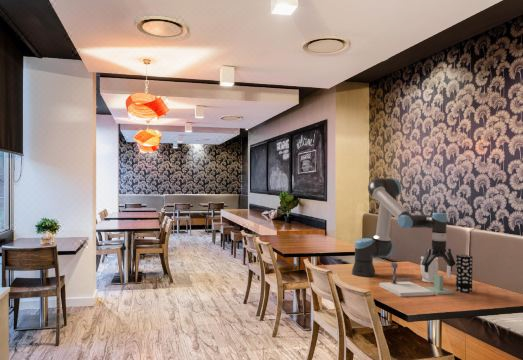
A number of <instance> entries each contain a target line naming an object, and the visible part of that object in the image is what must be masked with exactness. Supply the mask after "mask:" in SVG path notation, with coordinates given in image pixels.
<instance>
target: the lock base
mask: <svg viewBox="0 0 523 360" xmlns="http://www.w3.org/2000/svg"><path fill="white" fill-rule="evenodd" d="M378 287H380V288H382V289H384V290H386V291H388V292H390V293H392V294H394V295H396V296H398V297H423V296H424V297H425V296H434V295H435V293H434V291H431V290H429V289H426V288H424V287H425V286H424V287H423V286H421V285H419V284H416V283H414V282H411V281H396V283H393V281H392V282H391V281H390V282H378Z"/></svg>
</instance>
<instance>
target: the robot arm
mask: <svg viewBox="0 0 523 360" xmlns="http://www.w3.org/2000/svg"><path fill="white" fill-rule="evenodd" d="M367 192H368V194H369V195H370V197H372V198H373V199H374V200H377V201H378V202H379V205H378V206H379V208H378V214H377V215H378V216H377V221H376V229H375V235H373V237H372V238H369V237H366V238H365V237H362V238H358V239H356V240H355V242H354V263H353V266H352V269H351V274H352V275H354V276H357V277H374V276H376V269H375V267H374V264H373V263H374V261H373V260H374V259H376V258H388V257H391V256H392V254H393V252H394V248H395V247H394V243H393V241H392V239H391V237H390V230H391V225H392V224H391V223H392V216H393V217H395V219H396V220H397V224H398V226H399V227H400V228H401V229H405V230H406V229H431V239H432V240H431V247H432V248H426V253H425V255H424V256H425V257H424V259H423V261H422V263H421V262H420V264H422V265H424V266H425V272H426V278H428V279H430V267H429V265H430V264H431V262H432V261H433V260H434V258H436V257H437V258H440V257H441V258H443V260H444V261H445V263H446V264H447V265H446V277H447V278H449V279H451V278H452V272H453V267H454V266H456V260H455V259H454V256H453V255H452V249H451V248H448V247H447V241H446V240H447V223H448V219H447V218H448V217H447V216H448V215H447V213H445V212H432V215H431V214H424V213H421V214H411V213H410V211H408V210H407V209H406V208H405V207H403V205H401V204H400V203H399V201H397V197H398V196H400V194H401V193H402V185H401V183H400V181H399V180H398V179H396V178H390V177H389V178H386V177H385V178H381V177H380V178H379V177H376V178H374V179H372V180H371V181H369V183H368V186H367Z"/></svg>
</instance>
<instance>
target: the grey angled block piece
mask: <svg viewBox="0 0 523 360" xmlns="http://www.w3.org/2000/svg"><path fill="white" fill-rule="evenodd" d="M390 266H391V268H392V282H393V283H396V282H411V281H412V280H411V278H403V277H402V278H401V277H400V278H399V277H397V275H396V274H397V269H398V266H399V265H398V263H397V262H396V261H391V265H390Z"/></svg>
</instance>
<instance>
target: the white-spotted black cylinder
mask: <svg viewBox="0 0 523 360" xmlns="http://www.w3.org/2000/svg"><path fill="white" fill-rule="evenodd" d="M455 256H456V257H455V263H456V264H455V267H456V268H455V291H456V292H458V293H463V294H471V293H473V265H474V264H473V261H474V260H473V259H474V258H473V255H468V254H456V255H455Z"/></svg>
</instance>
